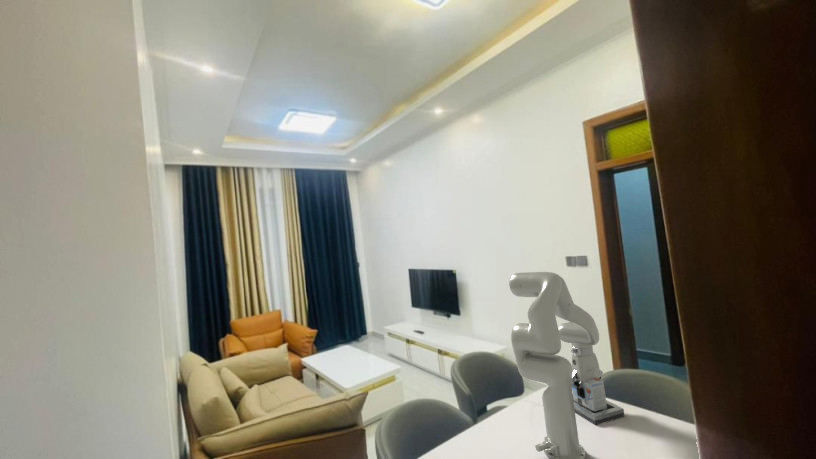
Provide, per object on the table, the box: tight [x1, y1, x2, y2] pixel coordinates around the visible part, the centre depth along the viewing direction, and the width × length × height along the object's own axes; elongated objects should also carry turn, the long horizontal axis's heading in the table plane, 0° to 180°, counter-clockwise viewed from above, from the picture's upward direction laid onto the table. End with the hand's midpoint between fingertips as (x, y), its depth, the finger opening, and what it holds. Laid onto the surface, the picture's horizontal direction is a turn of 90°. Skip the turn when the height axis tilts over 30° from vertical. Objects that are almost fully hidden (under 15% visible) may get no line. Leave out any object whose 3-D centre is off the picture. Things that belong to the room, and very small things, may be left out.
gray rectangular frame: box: [573, 399, 625, 426], centre depth 128 cm, size 14×18×3 cm
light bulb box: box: [572, 378, 607, 412], centre depth 128 cm, size 11×7×11 cm, turn 17°
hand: (588, 394), depth 128 cm, fingers closed on light bulb box, 6 cm apart
